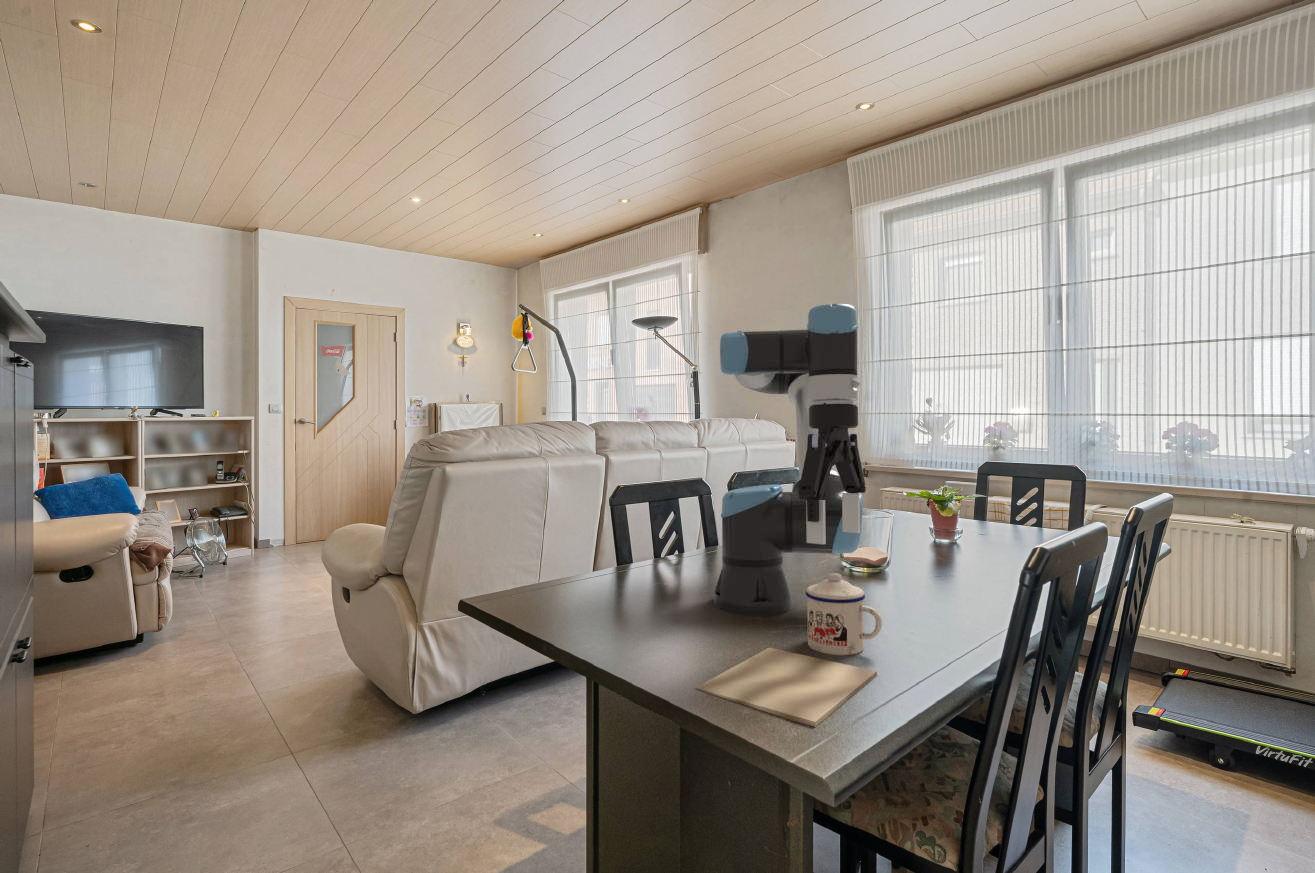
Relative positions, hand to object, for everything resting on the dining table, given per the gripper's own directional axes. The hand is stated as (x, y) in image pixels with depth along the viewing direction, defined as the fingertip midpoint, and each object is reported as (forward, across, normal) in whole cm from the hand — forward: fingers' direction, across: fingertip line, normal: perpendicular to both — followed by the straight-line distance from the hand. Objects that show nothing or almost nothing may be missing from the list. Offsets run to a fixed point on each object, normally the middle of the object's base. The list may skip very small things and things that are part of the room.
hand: (834, 537), depth 103 cm
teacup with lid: (+18, 0, -1) cm, 18 cm away
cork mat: (+18, -18, -1) cm, 25 cm away
